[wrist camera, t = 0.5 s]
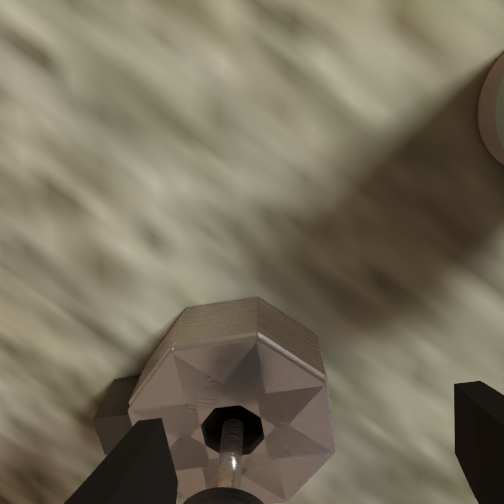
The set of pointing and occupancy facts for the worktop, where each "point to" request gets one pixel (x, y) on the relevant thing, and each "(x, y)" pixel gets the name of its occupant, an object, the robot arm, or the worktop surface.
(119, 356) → the worktop surface
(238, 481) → the plunger
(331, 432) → the grey octagonal hollow piece
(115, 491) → the robot arm
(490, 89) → the coffee cup
